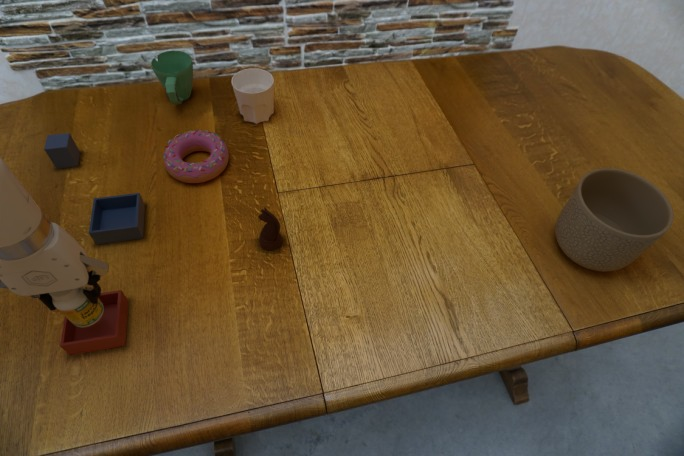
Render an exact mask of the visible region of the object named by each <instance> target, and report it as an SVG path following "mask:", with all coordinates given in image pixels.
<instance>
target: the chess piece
mask: <svg viewBox="0 0 684 456" xmlns="http://www.w3.org/2000/svg"><path fill="white" fill-rule="evenodd" d="M260 213H261V214H259V215H257V217H258V219H259V221H262V222H263V223H265V225H263V227H262V228H261V231H260V234H259V238H258V241H259V245H260V246H261V248H262V249H263V250H266V251H275V250H277V249H278V248H280V247H281V245H282V243H283V237H282V233H280V232H281V224H280V222H279V219H278V218H277V216H275V214H274V213H272V212H271V211H269V210H268V209H267V208H266V207H264V209H261V210H260Z"/></svg>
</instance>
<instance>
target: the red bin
mask: <svg viewBox="0 0 684 456" xmlns="http://www.w3.org/2000/svg"><path fill="white" fill-rule="evenodd" d="M98 298H99V299H100V301H101V302H102V304H103V307H104V312H103V315H102V317H101V318H100V319H99V320H98V321H97V322H96V323H95V324H93V325H91V326H88V327H77V326H75V325H74V324H73V323H72V322H71V321H69V320H68V319H67V318H66V317H65V316H64V317H63V318H64V319H63V324H62V330H61V336H60V344H59V347H60V348H61V349H62V350H64V352H66V354H68V355H69V356H74V355H79V354H86V353H92V352H96V351H104V350H108V349H109V350H110V349H115V348H121V347H125V346H126V342H127V329H128V313H129V303H130V302H129V299H128V297H127V296H126V294H125V293H124V292H123V290H122V289H118V290H112V291H105V292H101V295H100V296H98Z"/></svg>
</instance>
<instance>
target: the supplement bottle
mask: <svg viewBox="0 0 684 456" xmlns="http://www.w3.org/2000/svg"><path fill="white" fill-rule="evenodd" d="M49 294H50V295H51V296H52V302H53V305H54V306H55V307H56V308H57V309H56V310H57V311H59V312H60V314H62V315H63V316H64V317H66V318H67V319H68V320H69V321H71V322H72V323H73V324H74V325H75V326H77V327H88V326H91V325H93V324H95V323H96V322H97V321H98V320H99V319H100V318H101V317H102V315H103V312H104V307H103V304H102V302H101V301H100V299H99V298H98V302H97V304H93V303H91V302H90V301H89V299H88V298H87V297H86V296H85V295H84V293H83V288H81V287H79V288H76V289H70V290H64V291H58V292H51V293H49Z"/></svg>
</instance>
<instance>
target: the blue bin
mask: <svg viewBox="0 0 684 456" xmlns="http://www.w3.org/2000/svg"><path fill="white" fill-rule="evenodd" d="M145 210H146V204H145V202H144V200H143V197H142V195H141V193H140V192H133V193H126V194H119V195H109V196H102V197H94V198H93V200H92V207H91V214H90V221H89V228H88V235H89V236H90V238H91V239H92V241H93V242H94V243H95V245H97V246H98V245H104V244H105V245H106V244H112V243H119V242H126V241H133V240H140V239H144V233H145V212H146V211H145Z"/></svg>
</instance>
